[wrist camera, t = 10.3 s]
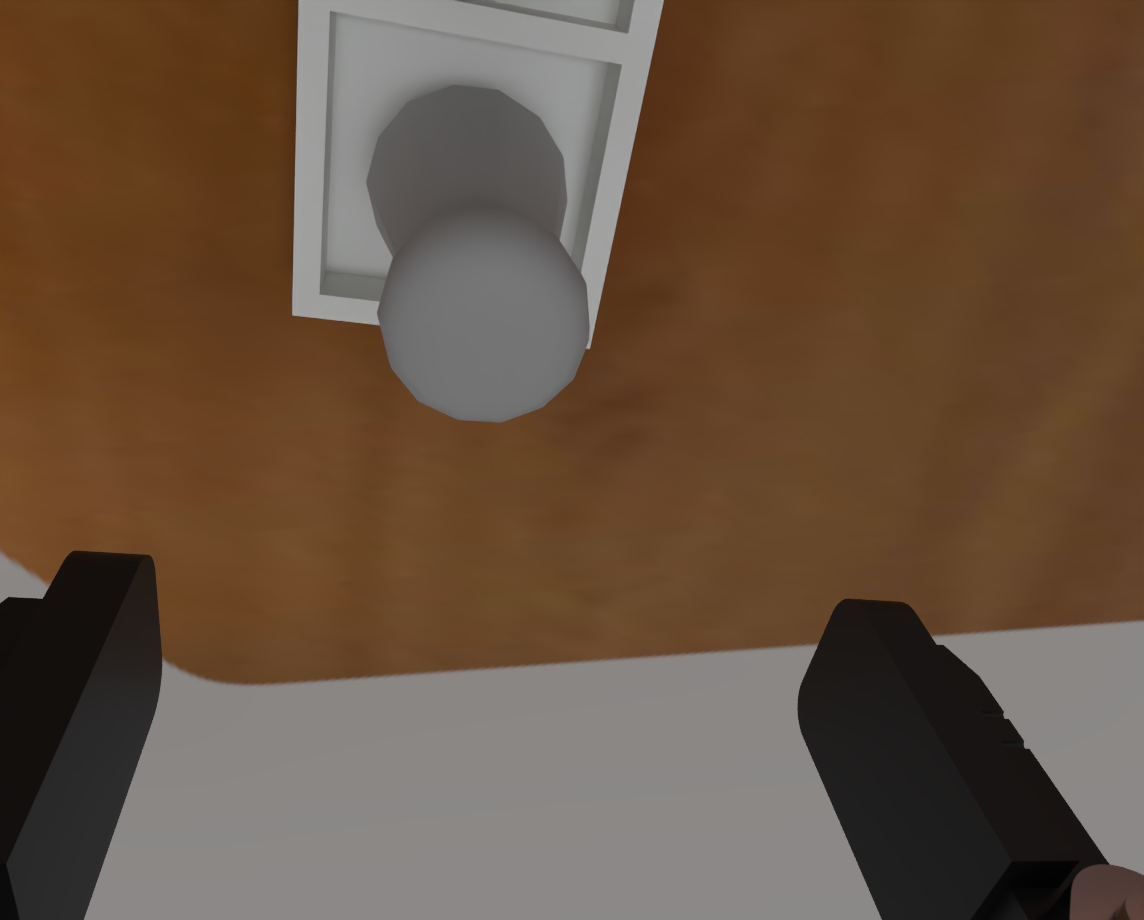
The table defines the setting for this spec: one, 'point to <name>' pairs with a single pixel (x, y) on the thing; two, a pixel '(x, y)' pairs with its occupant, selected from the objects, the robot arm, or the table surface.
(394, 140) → the salt shaker
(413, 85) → the caddy
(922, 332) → the table surface
